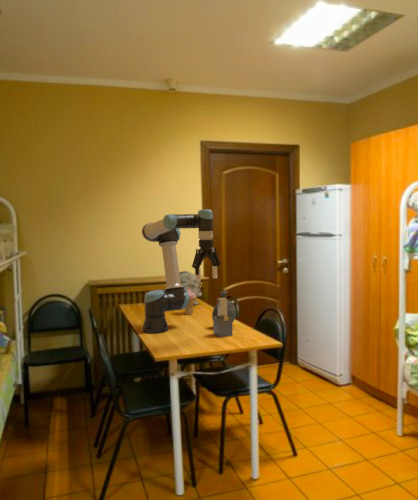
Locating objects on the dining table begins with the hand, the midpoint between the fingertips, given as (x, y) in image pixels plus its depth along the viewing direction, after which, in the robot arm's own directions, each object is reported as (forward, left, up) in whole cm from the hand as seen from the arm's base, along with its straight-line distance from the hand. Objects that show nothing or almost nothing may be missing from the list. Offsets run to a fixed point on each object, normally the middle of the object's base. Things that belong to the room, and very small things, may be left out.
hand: (206, 279), depth 235 cm
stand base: (+10, +5, -33) cm, 35 cm away
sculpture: (+19, +109, -33) cm, 115 cm away
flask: (+18, +23, -33) cm, 45 cm away
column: (+10, +5, -32) cm, 34 cm away
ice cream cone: (+11, +72, -33) cm, 80 cm away
